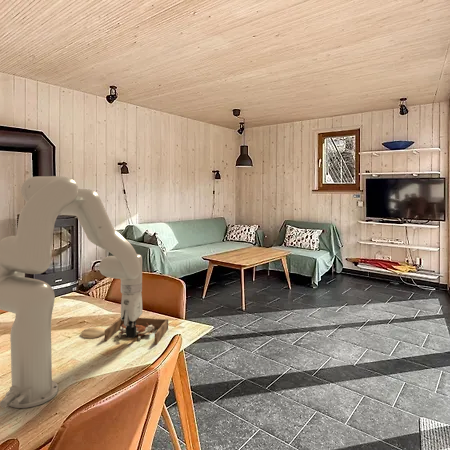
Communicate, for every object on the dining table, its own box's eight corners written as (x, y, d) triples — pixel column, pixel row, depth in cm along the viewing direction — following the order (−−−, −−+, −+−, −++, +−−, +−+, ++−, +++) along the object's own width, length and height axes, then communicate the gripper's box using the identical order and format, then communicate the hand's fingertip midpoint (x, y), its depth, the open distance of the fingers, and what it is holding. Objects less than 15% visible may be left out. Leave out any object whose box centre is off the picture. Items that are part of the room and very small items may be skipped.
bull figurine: (150, 330, 134) (156, 322, 142) (114, 328, 135) (122, 320, 143) (150, 341, 135) (155, 332, 143) (114, 339, 136) (122, 330, 144)
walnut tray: (156, 344, 132) (156, 334, 131) (104, 340, 134) (104, 330, 133) (168, 329, 147) (168, 319, 147) (121, 325, 149) (121, 316, 149)
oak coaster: (99, 339, 135) (99, 336, 135) (76, 337, 136) (76, 335, 136) (109, 330, 144) (109, 328, 144) (88, 328, 145) (88, 326, 145)
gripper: (133, 293, 124) (133, 345, 125) (148, 283, 139) (147, 330, 140) (112, 292, 125) (112, 344, 126) (129, 282, 139) (128, 328, 141)
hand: (130, 336), depth 133 cm, fingers closed
